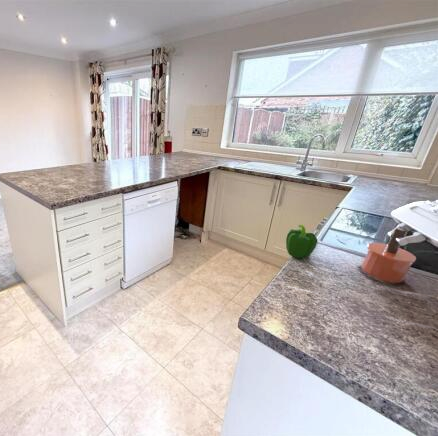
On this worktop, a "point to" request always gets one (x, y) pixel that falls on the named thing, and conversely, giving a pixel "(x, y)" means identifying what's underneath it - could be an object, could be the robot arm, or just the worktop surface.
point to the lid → (393, 248)
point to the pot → (384, 268)
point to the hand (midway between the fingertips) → (393, 239)
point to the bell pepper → (300, 243)
